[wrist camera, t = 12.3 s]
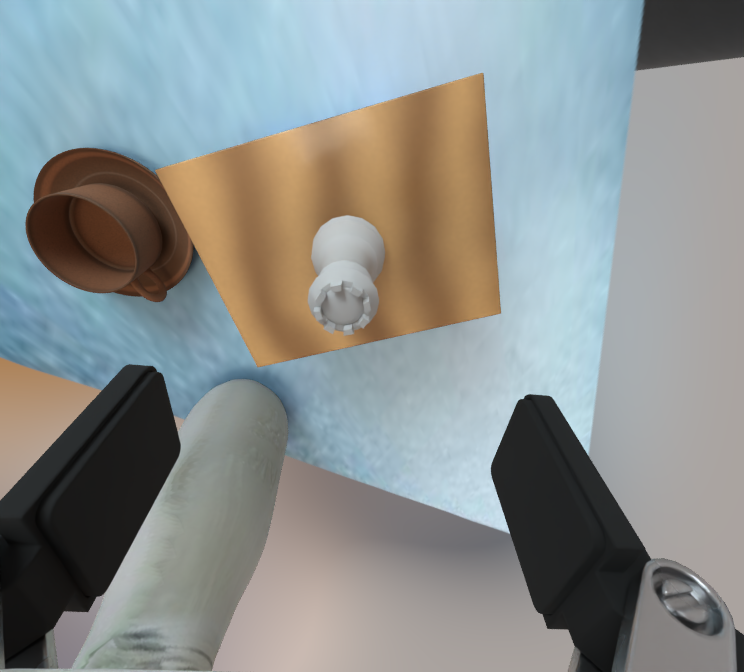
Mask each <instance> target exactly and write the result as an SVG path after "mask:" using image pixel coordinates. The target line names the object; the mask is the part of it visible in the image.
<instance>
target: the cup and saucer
mask: <svg viewBox="0 0 744 672" xmlns="http://www.w3.org/2000/svg"><path fill="white" fill-rule="evenodd" d="M26 234H27V238H28V241H29V243H30V245H31V248H32V249H33V251H34V253H35V254H36V256H37V257H38V259H39V260H40V261H41V262H42V264H43V265H44V266H45V267H46V268H47V269H48V270H49V271H50V272H52V273H53V274H54V275H55V276H57V277H58V278H59V279H61V280H62V281H64V282H66V283H68V284H69V285H71V286H74V287H76V288H78V289H81V290H84V291H88V292H93V293H111V292H115V293H118V294H122V295H128V296H139V297H140V296H143V297H144V298H146V299H147V300H150V301H153V302H161V301H163V300H164V299H165V298H166V295H167V290H169V289H171V288H173V287H174V286H175V285H177V284H178V283H179V282H180V281H181V280H182V279H183V277H184V276H185V274H186V273H187V271H188V269H189V267H190V264H191V261H192V257H193V250H194V244H193V242H192V240H191V238H190V236H189V234H188V233H187V231H186V229H185V227H184V225H183V223H182V221H181V219H180V217H179V215H178V213H177V212H176V210H175V208H174V206H173V204H172V202H171V200H170V198H169V196H168V194H167V192H166V190H165V189H164V187H163V185H162V183H161V181H160V179H159V177H158V176H157V175H155V174H154V173H153V172H152V171H150V170H149V169H148V168H146V167H145V166H143V165H142V164H140V163H138V162H136V161H134V160H133V159H130V158H128V157H126V156H124V155H121V154H118V153H115V152H111V151H108V150H102V149H96V148H78V149H72V150H68V151H65V152H62V153H60V154H58V155H56V156H55V157H53V158H52V159H51V160H49V161H48V162H47V163H46V164H45V165H44V167H43V168H42V169H41V171H40V173H39V175H38V177H37V179H36V183H35V187H34V204H33V205H32V206H31V207H30V209H29V211H28V213H27V217H26Z"/></svg>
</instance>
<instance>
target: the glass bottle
mask: <svg viewBox="0 0 744 672" xmlns="http://www.w3.org/2000/svg"><path fill="white" fill-rule="evenodd" d="M178 435H179V439H180V443H181V450H180V454H179V457H178V459H177V461H176V463H175V465H174V467H173V469H172V470H171V472H170V474H169V476H168V478H167V480H166V482H165V484H164V485H163V487H162V489H161V491H160V493H159V495H158V497H157V498H156V500H155V502H154V504H153V506H152V508H151V510H150V511H149V513H148V515H147V517H146V519H145V521H144V523H143V525H142V526H141V528H140V530H139V532H138V534H137V536H136V538H135V539H134V541H133V543H132V545H131V547H130V549H129V551H128V552H127V554H126V556H125V558H124V560H123V562H122V564H121V566H120V567H119V569H118V571H117V573H116V575H115V577H114V579H113V580H112V582H111V584H110V586H109V588H108V589H107V591H106V592H105V595H104V598H103V601H102V604H101V606H100V608H99V611H98V613H97V616H96V618H95V621H94V623H93V626H92V628H91V630H90V632H89V635H88V637H87V639H86V641H85V643H84V645H83V647H82V649H81V651H80V653H79V654H78V656H77V658H76V660H75V662H74V664H73V666H72V668H71V669H132V670H176V671H212V668H213V664H214V661H215V658H216V655H217V653H218V650H219V648H220V646H221V643H222V641H223V638H224V635H225V633H226V631H227V628H228V626H229V624H230V621H231V619H232V616H233V614H234V611H235V609H236V607H237V605H238V603H239V601H240V599H241V597H242V595H243V593H244V591H245V589H246V587H247V585H248V584H249V582H250V580H251V578H252V576H253V573H254V571H255V569H256V567H257V564H258V562H259V559H260V557H261V555H262V552H263V549H264V546H265V543H266V540H267V536H268V532H269V528H270V524H271V519H272V515H273V510H274V505H275V500H276V494H277V489H278V484H279V479H280V474H281V470H282V465H283V460H284V456H285V451H286V446H287V440H288V421H287V415H286V412H285V409H284V407H283V404H282V403H281V401H280V399H279V398H278V397H277V395H276V394H275V393H274V392H272V391H271V390H270V389H268V388H267V387H265V386H264V385H262V384H261V383H259V382H256V381H253V380H249V379H234V380H230V381H228V382H225V383H223V384H220V385H218V386H216V387H214V388H213V389H211V390H210V391H209V392H208V393H207V394H206V395H205V396H204V397H203V398H202V399H201V400H200V401H199V402H198V403H197V404H196V405H195V406H194V407H193V409H192V410H191V411H190V413H189V415H188V416H187V418H186V419H185V421H184V423H183V425H182V426H181V428H180V430H179V431H178Z"/></svg>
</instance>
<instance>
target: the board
mask: <svg viewBox="0 0 744 672" xmlns="http://www.w3.org/2000/svg"><path fill="white" fill-rule="evenodd" d="M155 171H156V173H157V175H158V177H159V179H160V181H161V183H162V185H163V187H164V189H165V190H166V192H167V194H168V196H169V198H170V200H171V202H172V204H173V206H174V208H175V210H176V212H177V213H178V215H179V217H180V219H181V221H182V223H183V225H184V227H185V229H186V231H187V233H188V234H189V236H190V238H191V240H192V242H193V244H194V246H195V248H196V250H197V252H198V254H199V256H200V257H201V259H202V261H203V263H204V265H205V267H206V269H207V271H208V273H209V275H210V277H211V279H212V280H213V282H214V284H215V286H216V288H217V290H218V292H219V294H220V296H221V298H222V300H223V302H224V303H225V305H226V307H227V309H228V311H229V313H230V315H231V317H232V319H233V321H234V323H235V325H236V326H237V328H238V330H239V332H240V334H241V336H242V338H243V340H244V342H245V344H246V346H247V347H248V349H249V351H250V353H251V355H252V357H253V359H254V361H255V363H256V365H257V367H261V366H266V365H270V364H275V363H279V362H284V361H289V360H293V359H298V358H302V357H307V356H311V355H316V354H320V353H325V352H329V351H334V350H338V349H343V348H347V347H352V346H356V345H361V344H365V343H370V342H374V341H379V340H383V339H388V338H392V337H397V336H401V335H406V334H410V333H415V332H419V331H424V330H428V329H433V328H437V327H442V326H446V325H451V324H455V323H460V322H464V321H469V320H473V319H478V318H482V317H487V316H491V315H496V314H500V313H501V308H500V294H499V280H498V267H497V253H496V239H495V226H494V212H493V198H492V185H491V171H490V157H489V144H488V130H487V116H486V103H485V89H484V76H483V73H480V74H476V75H473V76H469V77H466V78H463V79H459V80H456V81H453V82H449V83H446V84H442V85H439V86H436V87H432V88H429V89H426V90H422V91H419V92H415V93H412V94H409V95H405V96H402V97H399V98H395V99H392V100H389V101H385V102H382V103H378V104H375V105H372V106H368V107H365V108H362V109H358V110H355V111H351V112H348V113H345V114H341V115H338V116H335V117H331V118H328V119H325V120H321V121H318V122H314V123H311V124H308V125H304V126H301V127H298V128H294V129H291V130H287V131H284V132H281V133H277V134H274V135H271V136H267V137H264V138H260V139H257V140H254V141H250V142H247V143H244V144H240V145H237V146H234V147H230V148H227V149H223V150H220V151H217V152H213V153H210V154H207V155H203V156H200V157H196V158H193V159H190V160H186V161H183V162H180V163H176V164H173V165H170V166H166V167H163V168H160V169H156V170H155ZM346 215H349V216H354V217H359V218H363V219H364V220H366V221H367V222H369V223H370V224H372V225H373V226H375V228H376V229H377V231H378V232H379V234H380V235H381V237H382V238H383V243H384V248H385V259H384V263H383V268H382V271H381V273H380V274H379V275H378V277H377V278H376V280H375V281H374V282H373V284H374V285H375V287H376V288H377V292H378V297H379V305H378V309H377V313H376V315H375V316H374V317H373V318H372V320H371V321H370V322H369V323H368V324H367V325H366V326H365V327H364V328H362V327H361V328H360V329H358V330H354V334H352V335H346V336H344V334H343V332H342V331H336V330H334V333H333V334H331V333H330V332H328V331H326V330H324V329H323V328H324V325H322V324H320V323H319V322H318V321H316V318H315V317H314V316H313V315H312V314H311V311H310V308H309V304H308V294H309V288H310V287H311V285H312V284H313V282H314V280H315V279H316V278H317V277H318V275H317V274H316V272H315V269H314V266H313V262H312V259H311V255H312V247H313V239H314V237H315V235H316V234H317V232H318V230H319V229H320V227H321V226H322V225H324V224H325V223H327V222H328V221H329V220H331V219H332V218H336V217H341V216H346Z"/></svg>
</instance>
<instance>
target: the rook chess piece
mask: <svg viewBox="0 0 744 672" xmlns="http://www.w3.org/2000/svg"><path fill="white" fill-rule="evenodd" d="M311 259H312V262H313V266H314V269H315V272H316V274H317V275H318V277H317V278H316V279H315V280H314V282H313V284H312V285H311V287H310V288H309V294H308V304H309V308H310V311H311V314H312V315H313V316H314V317H315V318H316V321H318V322H319V323H320V324H322V325H324V328H323V329H324V330H326V331H328V332H330V333H331V334H333V333H334V330H336V331H342V332H343V334H344V336H346V335H352V334H354V330H358V329H360V328H361V327H362V328H364V327H365V326H366V325H367V324H368V323H369V322H370V321H371V320H372V318H373V317H374V316H375V315H376V313H377V309H378V305H379V297H378V292H377V288H376V287H375V285H374V284H373V282H374V281H375V280H376V278H377V277H378V275H379V274H380V273H381V271H382V268H383V263H384V259H385V248H384V243H383V238H382V237H381V235H380V234H379V232H378V231H377V229H376V228H375V226H373V225H372V224H370V223H369V222H367V221H366V220H364V219H363V218H359V217H354V216H349V215H346V216H341V217H336V218H332V219H331V220H329V221H328V222H327V223H325V224H324V225H322V226H321V227H320V229H319V230H318V232H317V234H316V235H315V237H314V239H313V247H312V255H311Z"/></svg>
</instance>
